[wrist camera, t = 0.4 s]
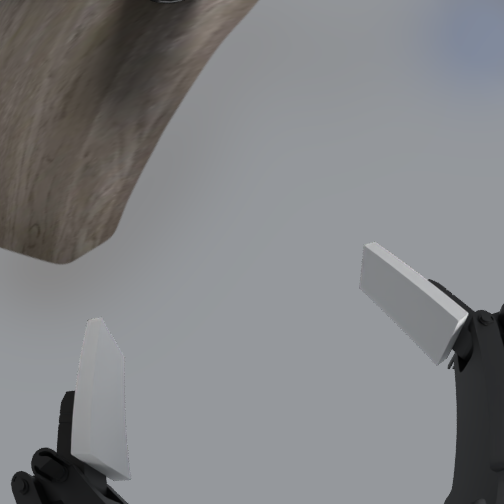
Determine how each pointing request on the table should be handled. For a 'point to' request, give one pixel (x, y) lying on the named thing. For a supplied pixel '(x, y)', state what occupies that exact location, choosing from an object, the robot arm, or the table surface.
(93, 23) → the table surface
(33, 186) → the table surface
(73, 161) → the table surface
